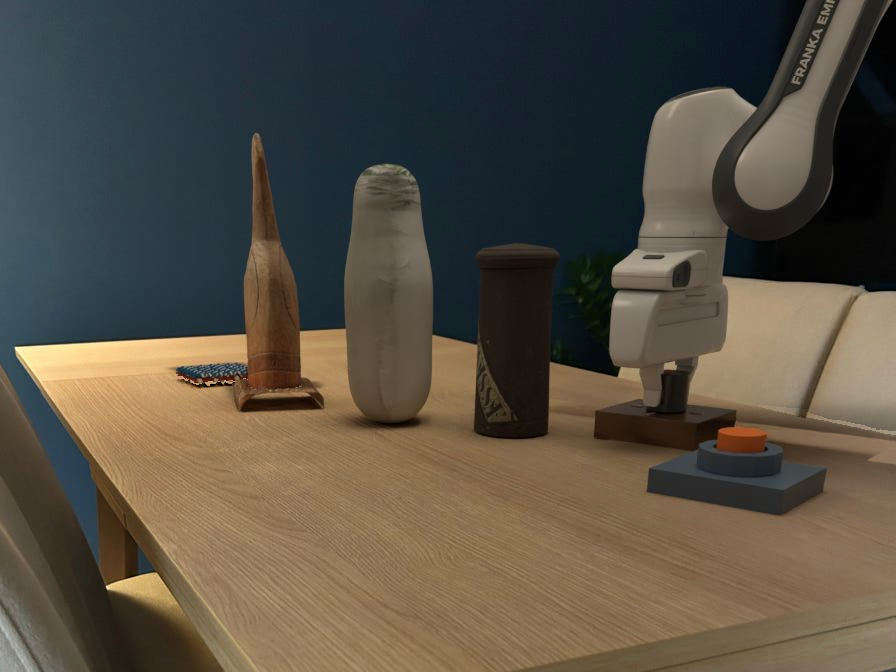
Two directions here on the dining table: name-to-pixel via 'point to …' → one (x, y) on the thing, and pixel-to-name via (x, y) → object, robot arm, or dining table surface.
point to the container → (514, 340)
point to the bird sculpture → (270, 302)
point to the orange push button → (741, 440)
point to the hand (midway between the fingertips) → (665, 402)
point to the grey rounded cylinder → (388, 297)
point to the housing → (738, 479)
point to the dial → (674, 392)
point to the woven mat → (214, 372)
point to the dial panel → (662, 425)
